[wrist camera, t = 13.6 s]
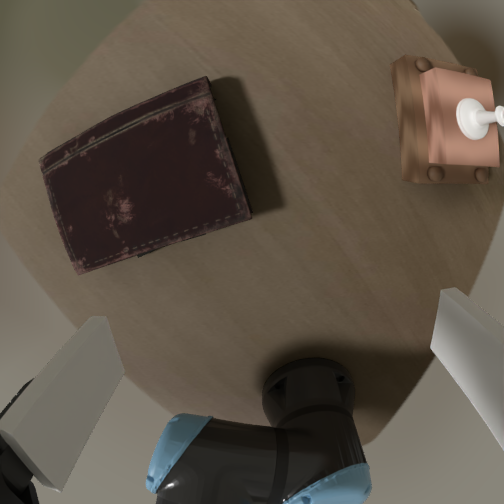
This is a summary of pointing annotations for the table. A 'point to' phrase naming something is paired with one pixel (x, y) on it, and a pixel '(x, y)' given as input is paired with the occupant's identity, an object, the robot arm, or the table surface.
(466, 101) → the chess piece
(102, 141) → the diary
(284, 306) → the table surface
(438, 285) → the table surface
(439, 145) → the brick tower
